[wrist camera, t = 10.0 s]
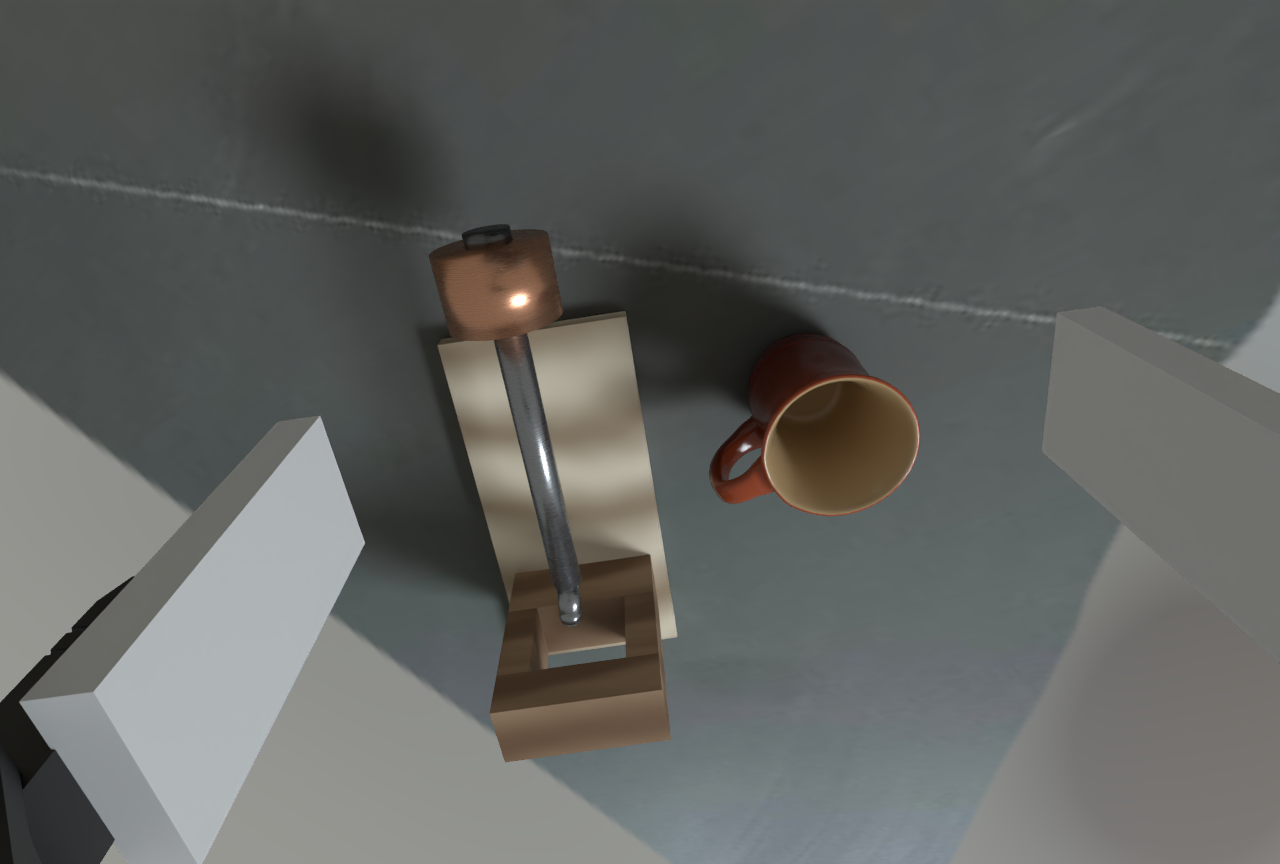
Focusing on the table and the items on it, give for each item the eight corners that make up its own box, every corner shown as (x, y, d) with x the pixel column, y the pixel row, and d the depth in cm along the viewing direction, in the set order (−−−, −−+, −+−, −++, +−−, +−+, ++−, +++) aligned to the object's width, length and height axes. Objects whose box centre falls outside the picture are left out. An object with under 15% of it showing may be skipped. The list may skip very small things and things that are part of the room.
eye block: (515, 573, 56) (489, 713, 44) (650, 554, 55) (661, 689, 43) (526, 616, 57) (505, 762, 45) (657, 597, 57) (670, 739, 45)
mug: (832, 292, 48) (884, 345, 39) (883, 399, 52) (943, 471, 43) (668, 382, 51) (682, 453, 42) (728, 479, 54) (753, 564, 45)
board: (441, 339, 49) (437, 345, 48) (625, 310, 48) (625, 316, 47) (526, 647, 60) (524, 658, 59) (676, 626, 60) (677, 637, 59)
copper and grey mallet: (438, 227, 40) (412, 252, 35) (549, 210, 40) (540, 233, 35) (531, 586, 51) (522, 648, 45) (619, 573, 51) (621, 634, 45)
